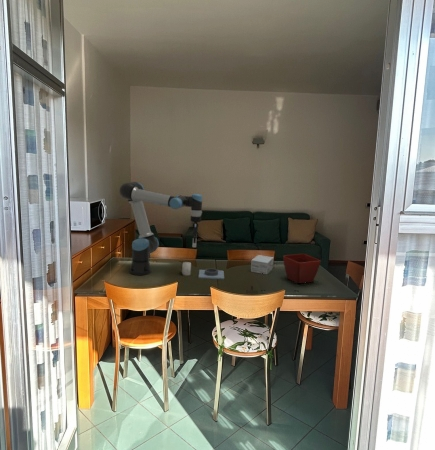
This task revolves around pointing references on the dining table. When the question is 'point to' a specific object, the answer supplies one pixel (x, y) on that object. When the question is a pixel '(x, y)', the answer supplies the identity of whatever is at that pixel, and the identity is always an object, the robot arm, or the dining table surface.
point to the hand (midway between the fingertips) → (194, 244)
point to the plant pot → (301, 267)
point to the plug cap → (186, 268)
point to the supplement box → (262, 264)
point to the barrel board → (211, 274)
